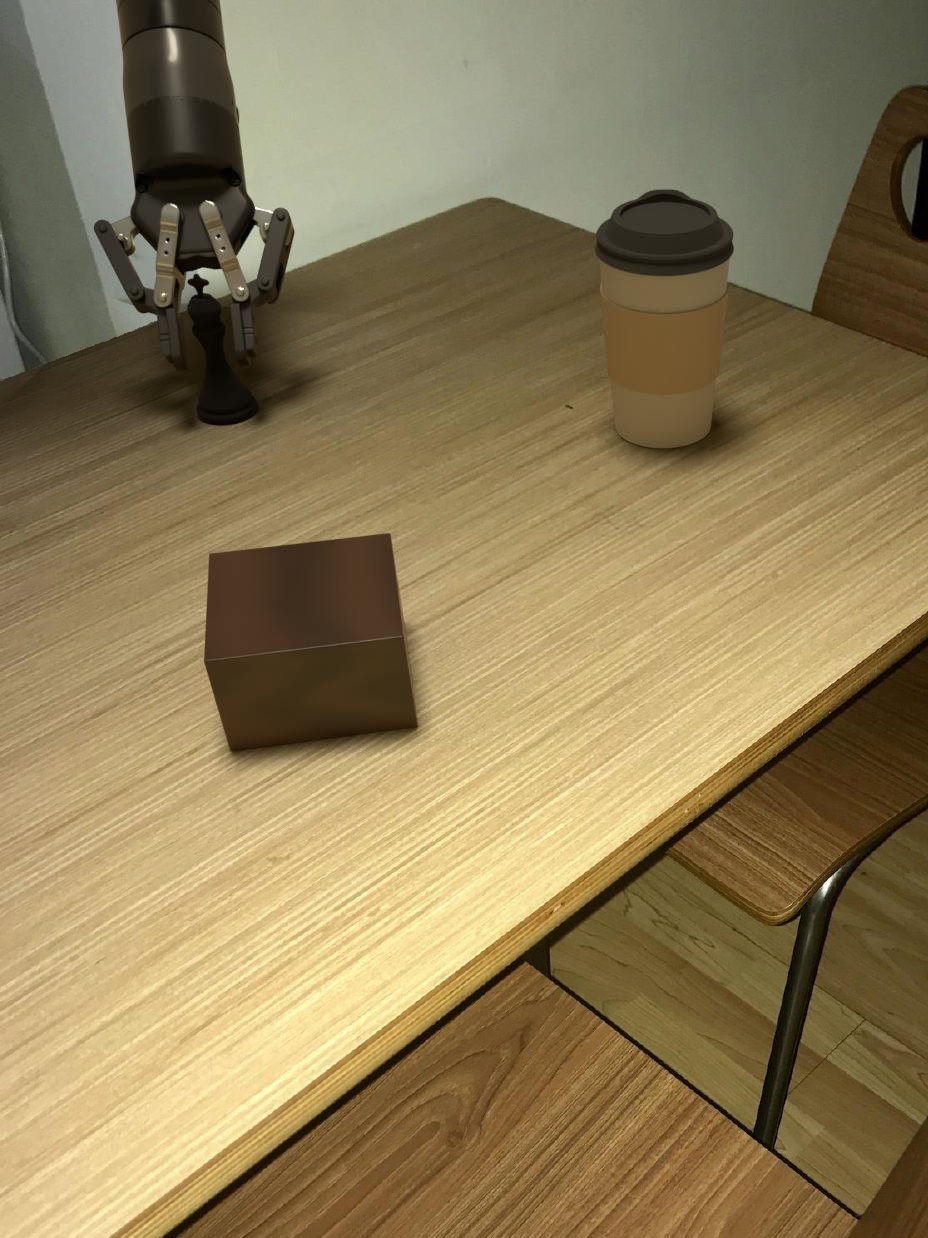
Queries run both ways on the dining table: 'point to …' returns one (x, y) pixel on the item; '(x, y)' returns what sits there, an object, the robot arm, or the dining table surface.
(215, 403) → the chess piece
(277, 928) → the dining table surface
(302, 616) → the brown metal block
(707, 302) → the coffee cup
